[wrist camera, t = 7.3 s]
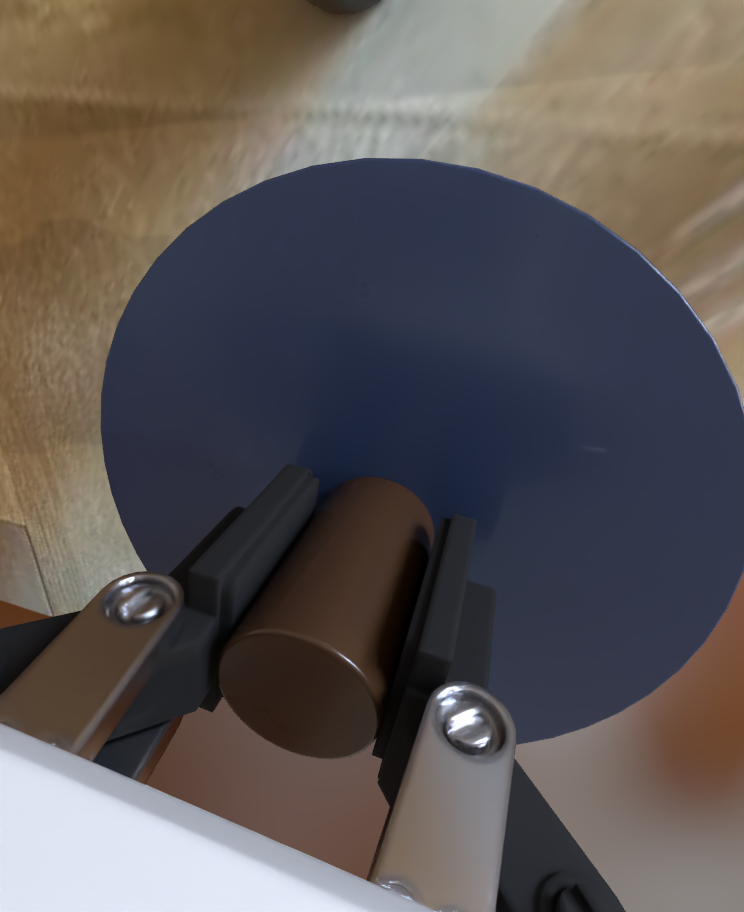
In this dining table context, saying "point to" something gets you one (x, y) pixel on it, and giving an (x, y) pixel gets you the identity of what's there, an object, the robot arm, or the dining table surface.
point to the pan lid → (432, 439)
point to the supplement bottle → (343, 5)
